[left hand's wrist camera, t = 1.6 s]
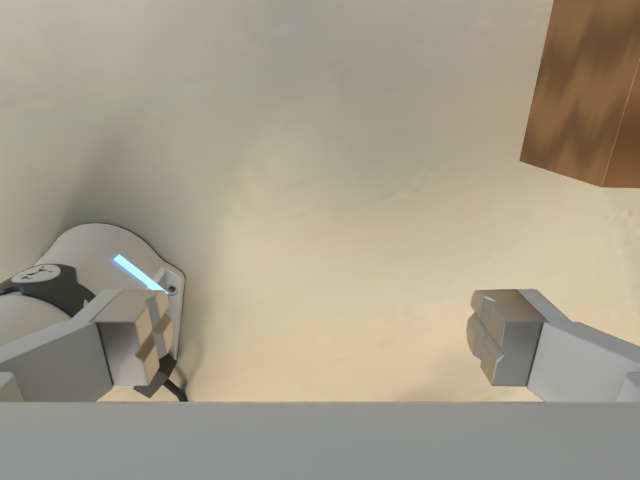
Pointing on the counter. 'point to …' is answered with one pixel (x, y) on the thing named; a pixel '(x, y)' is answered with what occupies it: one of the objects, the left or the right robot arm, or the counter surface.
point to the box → (589, 94)
